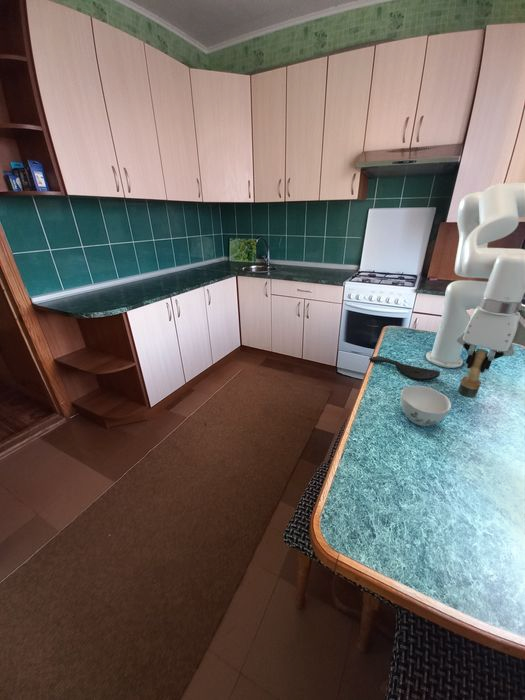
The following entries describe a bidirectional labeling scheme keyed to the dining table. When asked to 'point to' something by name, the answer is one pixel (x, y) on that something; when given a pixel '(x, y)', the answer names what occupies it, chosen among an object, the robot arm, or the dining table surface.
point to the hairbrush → (410, 369)
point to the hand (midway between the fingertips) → (476, 368)
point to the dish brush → (473, 376)
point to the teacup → (424, 405)
